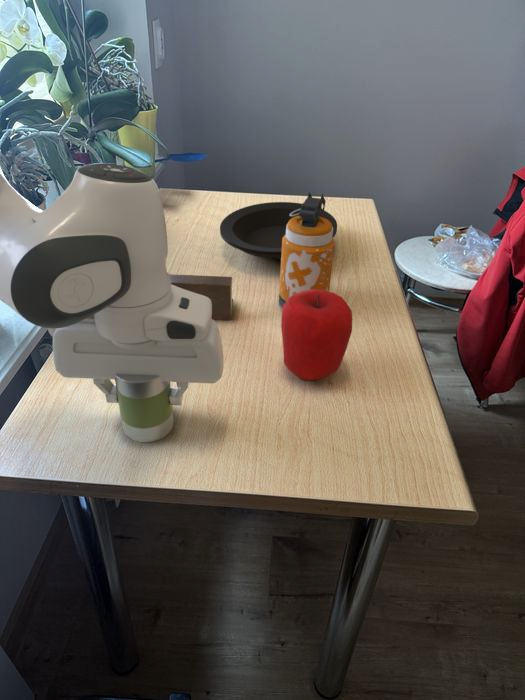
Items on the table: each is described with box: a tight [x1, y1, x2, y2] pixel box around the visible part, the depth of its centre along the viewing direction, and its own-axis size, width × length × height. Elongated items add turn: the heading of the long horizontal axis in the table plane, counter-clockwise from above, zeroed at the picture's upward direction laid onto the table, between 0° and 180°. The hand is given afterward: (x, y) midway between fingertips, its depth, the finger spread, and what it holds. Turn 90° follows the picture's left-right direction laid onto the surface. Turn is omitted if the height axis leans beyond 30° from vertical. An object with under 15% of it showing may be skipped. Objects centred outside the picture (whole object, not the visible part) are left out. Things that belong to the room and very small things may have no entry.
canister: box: [278, 192, 336, 308], centre depth 92 cm, size 9×11×20 cm
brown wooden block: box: [168, 273, 234, 321], centre depth 93 cm, size 18×6×7 cm, turn 88°
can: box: [114, 374, 174, 443], centre depth 68 cm, size 7×7×10 cm
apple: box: [280, 289, 353, 381], centre depth 77 cm, size 10×10×14 cm
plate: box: [219, 201, 338, 260], centre depth 115 cm, size 28×24×6 cm
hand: (145, 401), depth 68 cm, fingers closed on can, 7 cm apart
